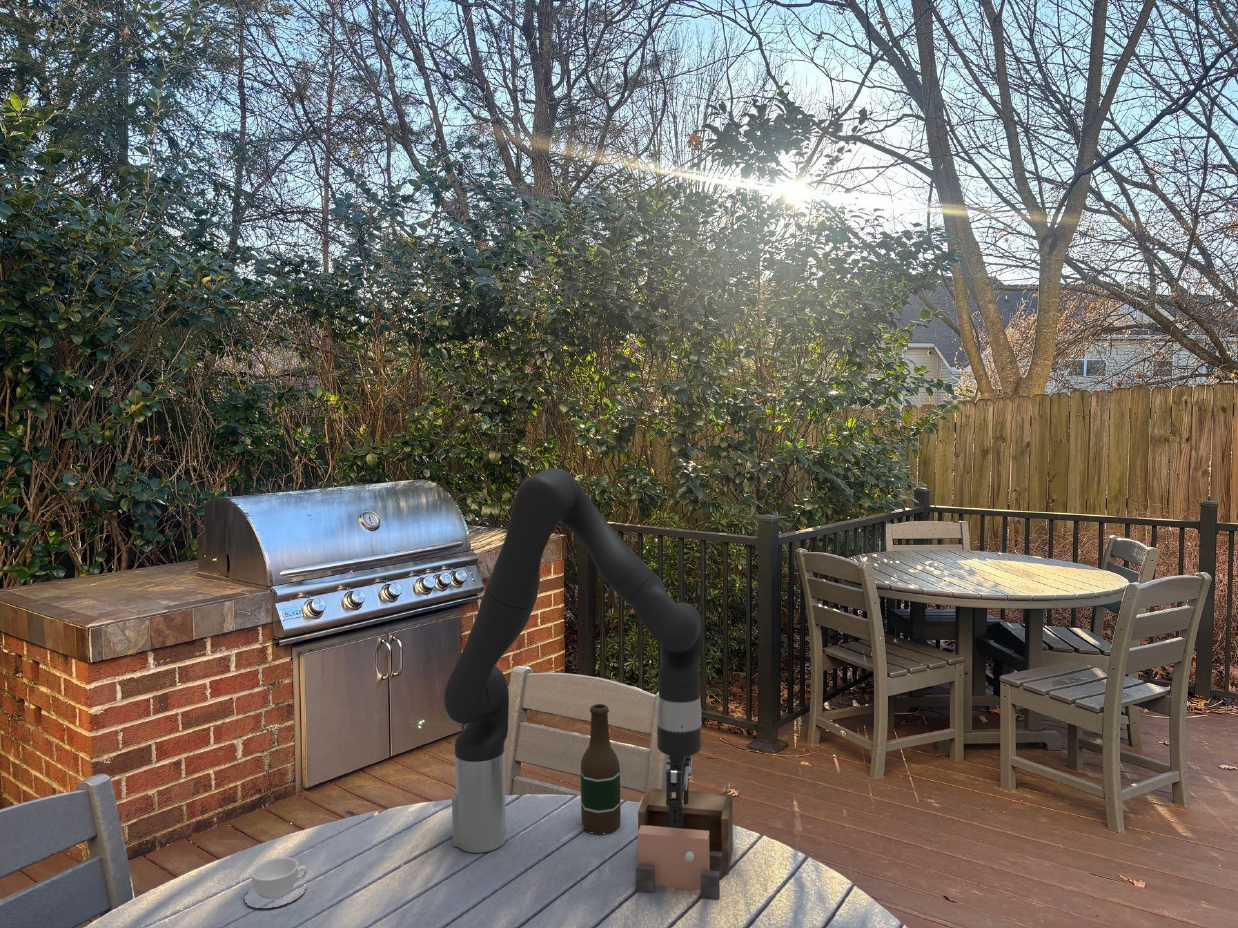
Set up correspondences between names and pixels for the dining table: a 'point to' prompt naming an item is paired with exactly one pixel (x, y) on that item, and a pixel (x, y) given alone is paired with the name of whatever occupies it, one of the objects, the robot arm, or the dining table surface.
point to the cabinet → (697, 815)
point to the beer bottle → (600, 778)
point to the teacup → (276, 877)
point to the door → (675, 855)
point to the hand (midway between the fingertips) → (679, 814)
